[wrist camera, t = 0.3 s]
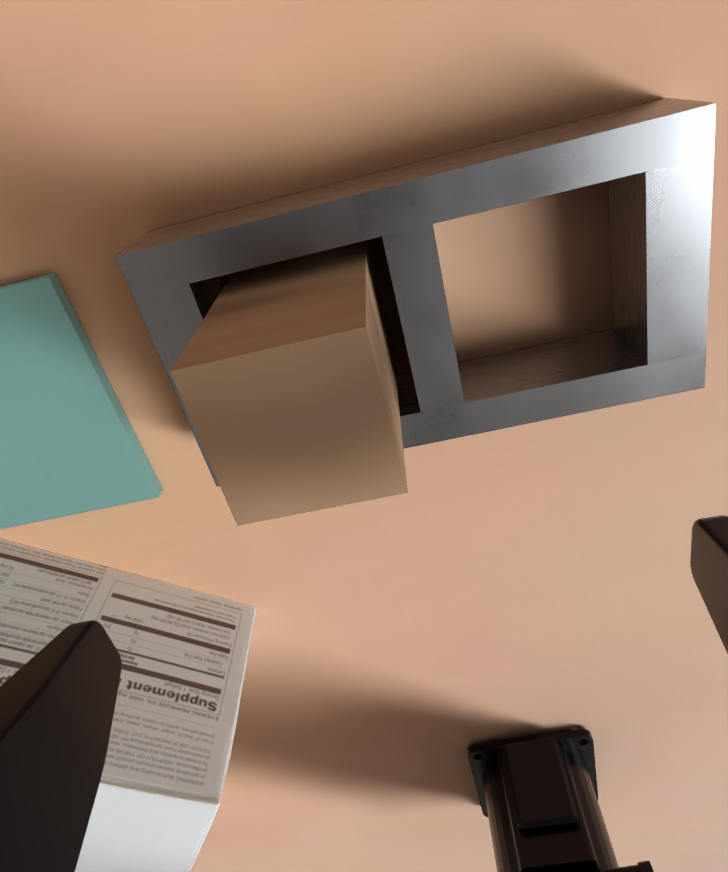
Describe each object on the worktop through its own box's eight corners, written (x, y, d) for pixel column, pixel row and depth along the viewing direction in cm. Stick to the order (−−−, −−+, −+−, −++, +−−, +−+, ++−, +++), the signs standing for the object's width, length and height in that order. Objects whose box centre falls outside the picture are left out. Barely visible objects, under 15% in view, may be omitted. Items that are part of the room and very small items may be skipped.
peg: (394, 360, 22) (407, 492, 15) (276, 386, 23) (237, 525, 16) (365, 237, 20) (365, 326, 13) (235, 268, 21) (170, 371, 14)
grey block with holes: (664, 349, 22) (704, 387, 19) (232, 440, 24) (216, 486, 21) (665, 97, 18) (715, 103, 15) (147, 231, 20) (115, 256, 17)
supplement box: (184, 798, 37) (134, 1005, 29) (-52, 750, 34) (-181, 961, 26) (264, 603, 29) (225, 814, 20) (-38, 522, 26) (-218, 726, 18)
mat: (162, 489, 25) (159, 496, 25) (4, 521, 26) (-2, 529, 25) (54, 272, 21) (48, 276, 20) (-132, 320, 21) (-142, 325, 21)
